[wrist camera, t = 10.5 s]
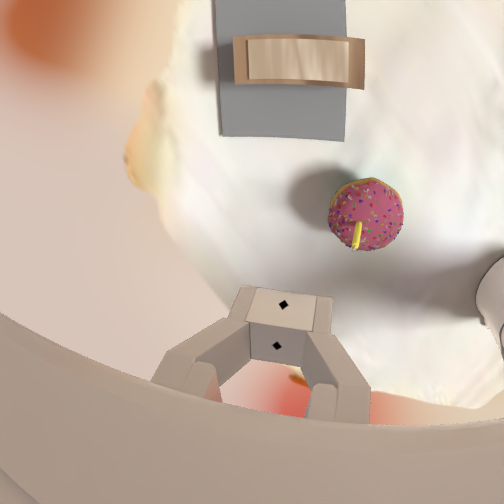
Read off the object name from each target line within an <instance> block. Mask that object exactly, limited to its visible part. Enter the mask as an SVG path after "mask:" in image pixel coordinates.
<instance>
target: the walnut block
mask: <svg viewBox="0 0 504 504" xmlns="http://www.w3.org/2000/svg"><path fill="white" fill-rule="evenodd" d="M233 53H234V74H235V85H238V84H301V85H320V86H333V87H344V88H354V89H362V90H364V79H365V39H359V38H350V37H340V36H327V35H307V34H266V35H245V36H233Z"/></svg>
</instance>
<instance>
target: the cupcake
mask: <svg viewBox="0 0 504 504" xmlns="http://www.w3.org/2000/svg"><path fill="white" fill-rule="evenodd" d="M328 223H329V226H330V228H331V231H332V232H333V233H334V234H335V235H336V236H337V237H338V238H339V239H340V240H341V242H344V243H345V244H346V246H348V247H350V248H351V247H352V248H353V249H352V251H354V250H355V249H356V250H357V251H358V250H366V251H367V250H369V251H370V250H375V249H379V248H382V247H385V246H386V245H388V243H390V242H391V241H392V240H393V239H395V237H396V236H397V234H399V231H400V230H401V226H402V225H403V206H402V201H401V198H400V196H399V194H398V193H397V192H396V191H395V190H394V189H393V188H391V187H390V186H388V185H387V184H385V183H384V182H382V181H380V180H378V179H376V178H366V179H360V180H356V181H352V182H350V183H347V184H345V185H344V186H342V187H341V188H340V189H339V190H338V191H337V192H336V194H335V196H334V197H333V198H332V200H331V203H330V208H329V216H328Z"/></svg>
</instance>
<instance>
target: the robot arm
mask: <svg viewBox="0 0 504 504" xmlns="http://www.w3.org/2000/svg"><path fill="white" fill-rule="evenodd" d="M332 305H333V298H332V297H327V296H318V295H317V296H316V295H308V294H300V293H292V292H285V291H279V290H273V289H267V288H261V287H253V286H247V285H243V286H242V287H241V288H240V290H239V293H238V295H237V297H236V300H235V302H234V304H233V307H232V309H231V311H230V313H229V316H228V318H222V319H220V320H219V321H217V322H215V323H214V324H212V325H210V326H209V327H207V328H205V329H204V330H202V331H200V332H199V333H197V334H195V335H194V336H192V337H190V338H189V339H187V340H185V341H184V342H182V343H180V344H179V345H177V346H175V347H174V348H172V349H171V350H169V351H167V352H166V354H165V356H164V358H163V360H162V361H161V363H160V365H159V367H158V368H157V370H156V372H155V374H154V376H153V377H152V379H151V381H150V382H149V381H146V380H143V379H140V378H138V377H135V376H132V375H129V374H127V373H124V372H121V371H119V370H116V369H114V368H111V367H109V366H106V365H104V364H101V363H99V362H97V361H94V360H92V359H89V358H87V357H85V356H82V355H80V354H78V353H76V352H74V351H72V350H69V349H67V348H65V347H63V346H61V345H59V344H57V343H55V342H53V341H51V340H49V339H47V338H45V337H43V336H41V335H39V334H37V333H35V332H33V331H32V330H30V329H28V328H26V327H24V326H23V325H21V324H19V323H17V322H16V321H14V320H12V319H10V318H9V317H7V316H5V315H4V314H2V313H0V504H504V418H500V419H493V420H486V421H478V422H468V423H456V424H440V425H372V424H369V422H370V395H371V387H370V386H369V385H368V383H367V382H366V380H365V379H364V377H363V376H362V374H361V373H360V371H359V370H358V368H357V367H356V365H355V364H354V362H353V361H352V359H351V358H350V356H349V355H348V353H347V352H346V351H345V349H344V348H343V346H342V345H341V343H340V342H339V340H338V339H337V337H336V336H335V335H332V334H330V332H331V319H332ZM476 305H477V308H478V310H479V311H480V313H481V314H482V315H483V317H484V322H485V325H486V327H487V329H490V330H491V332H492V334H493V336H494V338H495V340H496V342H497V344H498V346H499V348H500V350H501V354H502V357H503V360H504V257H502V258H501V259H500V260H499V261H497V262H496V263H495V264H494V265H493V266H492V267H491V268H490V269H489V271H488V272H487V273H486V275H485V276H484V278H483V279H482V281H481V283H480V285H479V288H478V290H477V294H476ZM250 359H255V360H261V361H268V362H275V363H280V364H286V365H291V366H297V367H301V370H302V372H303V375H304V377H305V379H306V381H307V384H308V386H309V388H310V390H311V397H310V400H309V403H308V406H307V409H306V413H305V416H304V418H299V417H292V416H286V415H280V414H273V413H269V412H263V411H258V410H253V409H248V408H243V407H239V406H234V405H230V404H226V403H222V398H221V393H220V389H219V387H220V386H221V385H222V384H223V383H225V382H226V381H227V380H228V379H229V378H231V377H232V376H233V375H234V374H235V373H236V372H238V371H239V370H240V369H241V368H242V367H243V366H244V365H246V364H247V363H248V362H249V361H250Z"/></svg>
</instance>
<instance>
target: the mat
mask: <svg viewBox="0 0 504 504" xmlns="http://www.w3.org/2000/svg"><path fill="white" fill-rule="evenodd" d="M215 12H216V33H217V52H218V70H219V87H220V103H221V118H222V133H223V137H282V138H301V139H316V140H329V141H340V142H344V136H345V117H346V88H344V87H333V86H320V85H301V84H238V85H235V74H234V53H233V36H245V35H266V34H307V35H327V36H340V37H347V33H346V6H345V0H215Z"/></svg>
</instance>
